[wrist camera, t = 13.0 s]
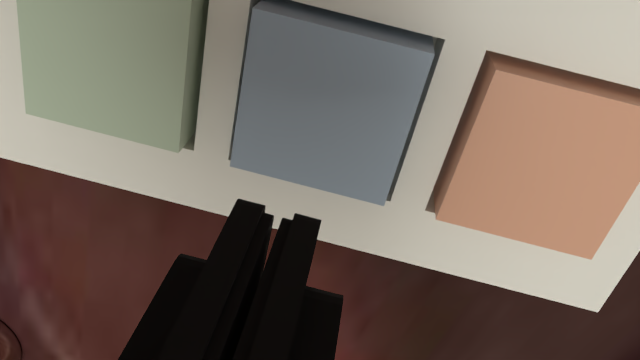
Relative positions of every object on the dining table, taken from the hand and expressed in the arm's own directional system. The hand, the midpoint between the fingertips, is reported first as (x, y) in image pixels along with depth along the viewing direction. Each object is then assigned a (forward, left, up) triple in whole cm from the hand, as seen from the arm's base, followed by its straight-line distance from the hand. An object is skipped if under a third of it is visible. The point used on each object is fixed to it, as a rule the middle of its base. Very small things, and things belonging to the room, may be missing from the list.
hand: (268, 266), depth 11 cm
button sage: (+1, -8, -11) cm, 14 cm away
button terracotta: (+1, +8, -11) cm, 14 cm away
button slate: (+1, 0, -11) cm, 11 cm away
